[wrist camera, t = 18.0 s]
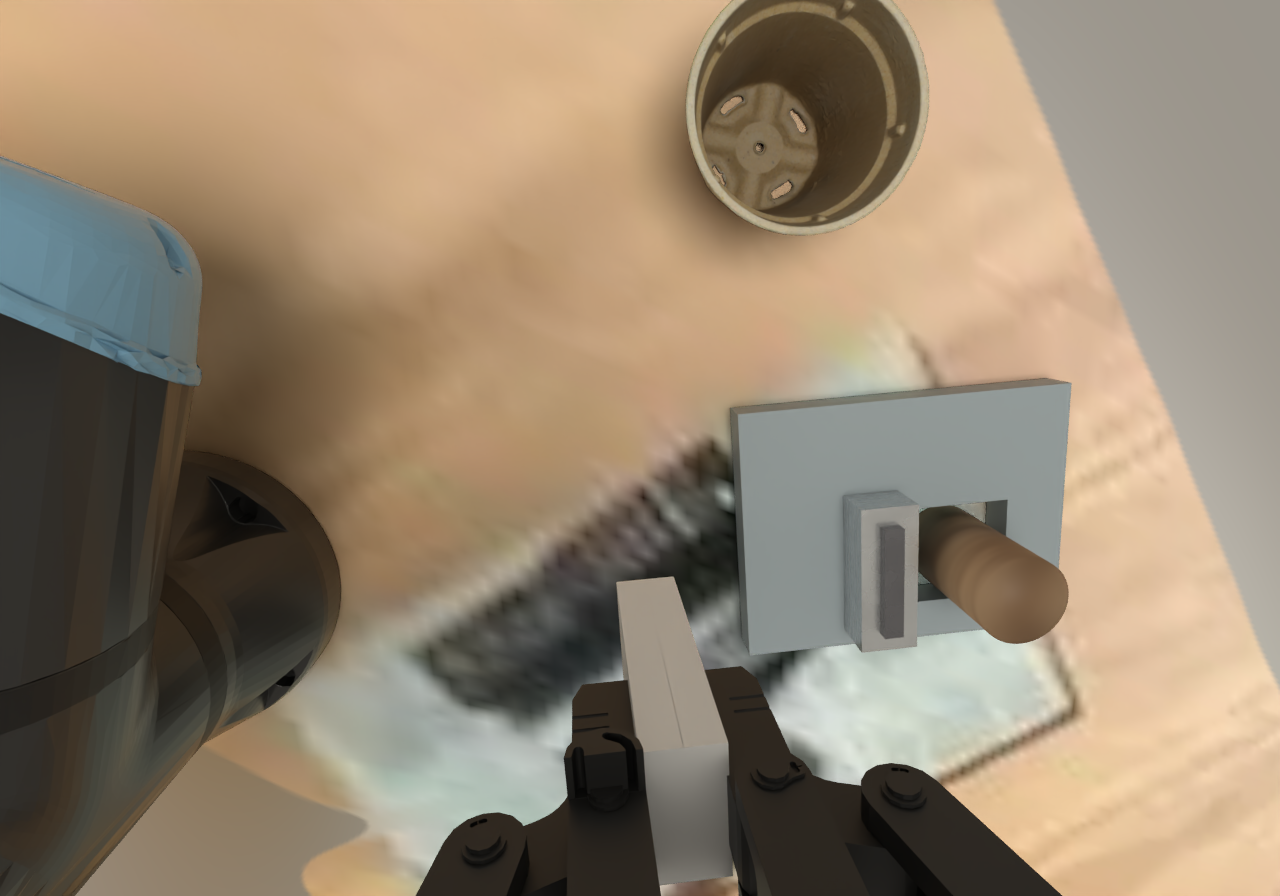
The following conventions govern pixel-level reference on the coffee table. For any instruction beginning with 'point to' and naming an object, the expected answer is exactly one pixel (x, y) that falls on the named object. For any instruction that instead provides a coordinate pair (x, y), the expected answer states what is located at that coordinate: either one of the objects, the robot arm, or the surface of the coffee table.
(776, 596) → the housing plate
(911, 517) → the bar
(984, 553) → the walnut peg
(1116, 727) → the coffee table surface
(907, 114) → the flower pot
